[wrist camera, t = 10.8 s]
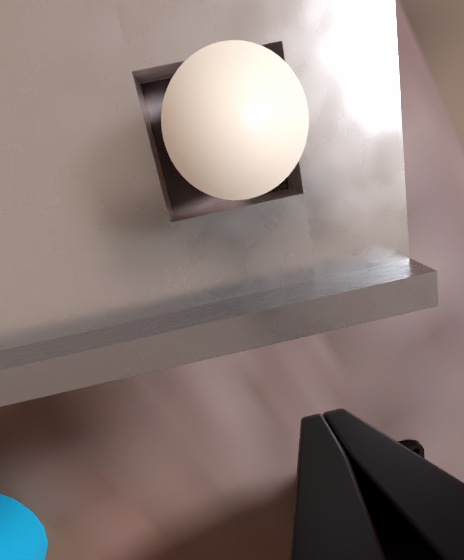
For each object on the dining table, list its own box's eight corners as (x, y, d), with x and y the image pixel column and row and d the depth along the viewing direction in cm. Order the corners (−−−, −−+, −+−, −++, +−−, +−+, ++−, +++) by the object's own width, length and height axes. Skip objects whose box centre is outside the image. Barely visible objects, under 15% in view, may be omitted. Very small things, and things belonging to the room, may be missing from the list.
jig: (384, 273, 20) (438, 305, 15) (-4, 362, 19) (-60, 420, 15) (354, -118, 15) (420, -230, 10) (-175, -15, 14) (-334, -91, 10)
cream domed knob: (270, 174, 18) (317, 183, 11) (185, 192, 18) (181, 213, 11) (254, 79, 16) (297, 26, 10) (162, 98, 16) (143, 57, 10)
